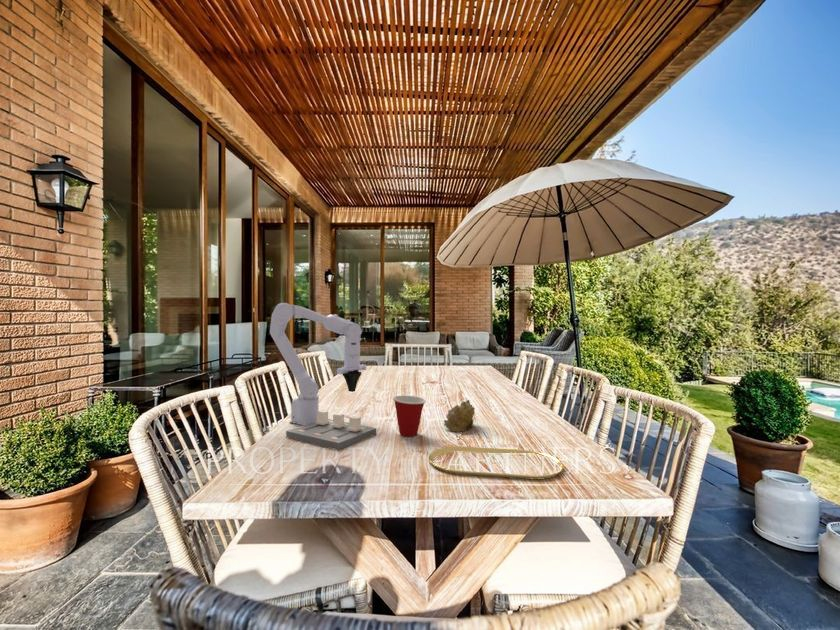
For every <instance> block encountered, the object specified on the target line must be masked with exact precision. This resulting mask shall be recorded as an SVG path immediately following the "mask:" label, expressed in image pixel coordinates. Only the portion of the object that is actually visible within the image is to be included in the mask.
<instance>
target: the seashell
mask: <svg viewBox="0 0 840 630" xmlns="http://www.w3.org/2000/svg"><path fill="white" fill-rule="evenodd" d="M474 414H475V407H474V406H473V405H472V404H471V402H470V400H469V399H467V400H465V401H462V402H461V403H460V405H459V404H457V405H455V406H454V407H453V408H450V410H448V412H447V414H446V417H445V418H446V419H447V420H443V421H444V423H443V425H444V427H446V428H447V429H448V430H451V431H453V432H456V433H461V432H467V431H472V430H473V429H474V428H473V425H474V419H473V418H474Z"/></svg>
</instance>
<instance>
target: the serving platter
mask: <svg viewBox="0 0 840 630" xmlns="http://www.w3.org/2000/svg"><path fill="white" fill-rule="evenodd" d="M454 451H455V452H454ZM456 451H463V452H462V453H470V452H473V453H474V452H476V453H475V454H486V453H488V452H489V453H511V452H512V453H515V452H516V453H535V454H539V455H542V456H546V457H549V458H551V459H553V460H555V461H556V462H557V463H559V465H560V471H558V472H557V473H556V472H554V473H552V474H545V475H529V474H528V475H527V474H526V475H525V474H524V475H523V474H513V473H498V472H497V473H496V472H483V471H472V470H471V471H470V470H469V471H468V470H457V469H456V470H455V469H450V468H446V467H442V466H440V465H437V464H436V463H435V464H434V462H435V460H434V458H435V457H436V456H438V455H439V454H440V456H441V454H442V455H444V454H443V453H445V454H449V452H451V453H457V452H456ZM438 457H439V456H438ZM436 458H437V457H436ZM436 458H435V459H436ZM428 460H429V462H430V464H431V465H432V466H433V467H434V468H436V469H438V470H440V471H442V472H445V473H449V472H450V473H449V474H454V473H456V474H455V475H463V474H466V475H467V476H479V477H491V476H493V477H492V478H505V477H514V478H513V479H520V478H533V479H532V480H539V479H538V478H547V479H549V478H548V477H551V478H554V477H556V476H558V475H559V474H560V473H561V472H562V471H563V470H564V465H563V462H562V461H561V460H559V459H557V457H556V458H555V457H554V456H551V455H549V454H546V453H544V452H539V451H532V450H527V449H515V448H513V449H512V448H511V449H510V448H497V447H496V448H494V447H478V446H462V445H461V446H459V445H458V446H456V445H455V446H446V447H439V448H438V449H435V450H433V451H432V452H430V453H429V455H428ZM433 461H434V462H433ZM557 474H558V475H557ZM466 475H465V476H466ZM555 475H556V476H555ZM553 476H554V477H553Z"/></svg>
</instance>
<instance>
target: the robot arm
mask: <svg viewBox="0 0 840 630" xmlns="http://www.w3.org/2000/svg"><path fill="white" fill-rule="evenodd" d="M292 318H293V319H298V318H303V319H306V320H307V319H308V320H309V321H310V320H311V321H313V322H316V323H320V324H322V325H323V326H324V329H325V330H328V331H330V332H333V333H336V334H338V335H344V348H343V349H344V352H343V353H344V357H343V359H344V361H343V362H344V363H343V365H344V366H342V367H338V368H336V374H337V375H342V376H343V378H344V379H345V382H346V386H347V389H348V392H350V393H351V392H352V393H354V392H355V391H356V389H357V385H358V381H359V379H360V378H361V376H362V371H364V370H365V371H366V370H367V364H364V363H363V364H360V363H361V341H360V340H361V338H360V337H361V335H362V334H363V330H362V327H361V325H360V324H358V323H357V322H353V321H351V319H348V318H347V319H345V318H343V317H340V316H339V315H338V314H336V313H334V314H329V315H324V314H321V313H319V312H316V311H314V310H311V309H308V308H306V307H304V306H300V305H297V304H296V305H295V304H289V303H287V302H280V303H278V304H277V305H275V306H274V309H273V312H272V313H271V318H270V325H269V334H270V336H271V338H272V339H273V341H274V343H275V345H276V347H277V349H278V350H279V352H280V354H281V355H282V357H283V359H284V360H285V363H286V364H287V366H288V367H289V370H290V371H291V373H292V375H293V377H294V379H295V380H296V382H297V384H298V390H299V395H298V396H296V397H294V398H293V399H292V401H291V405H290V409H291V410H290V411H291V412H290V420H289V421H290V422H293V423H292V424H295V423H297V424H296V425H300V424H301V425H300V426H304V425H307V424H310V423H314V422H316V421H317V411H320V410H319V408H320V407H319V406H320V405H319V402H320V401H319V399H320V398H319V397H320V396H319V395H318V394H319V389H320V388H319V385H318V384H317V382H316V380H315V379H314V378H313V377H311V376H310V375H309V373H308V372H307V369H306V368H305V366H304V365H303V363H302V361H301V359H300V357H299V356H298V353H297V352H296V350H295V348H294V347H293V344H292V342H290V340H289V338H288V336H287V334H286V329H287V326H288V323H289V322H290V321H291V319H292ZM290 422H289V423H290Z"/></svg>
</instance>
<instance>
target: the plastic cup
mask: <svg viewBox="0 0 840 630" xmlns="http://www.w3.org/2000/svg"><path fill="white" fill-rule="evenodd" d="M426 401H427V400H426V399H425V398H423V397H419V396H416V395H415V396H414V395H395V396H394V397H393V402H394V406H395V411H396V418H397V419H396V420H397V425H398V431H399V435H400V436H401V437H407V438H409V437H410V438H411V437H416V436H418V433H419V427H420V424H421V418H422V414H423V413H422V411H423V409H424V405H425V403H426Z"/></svg>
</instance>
